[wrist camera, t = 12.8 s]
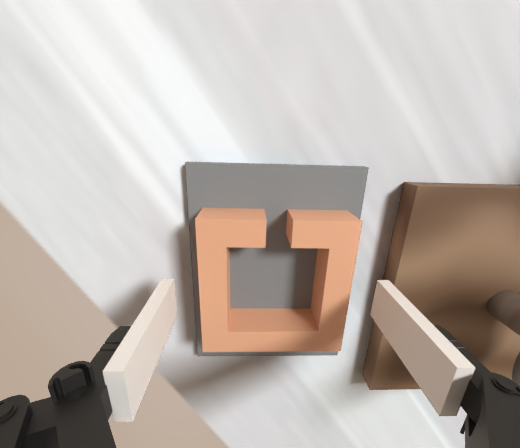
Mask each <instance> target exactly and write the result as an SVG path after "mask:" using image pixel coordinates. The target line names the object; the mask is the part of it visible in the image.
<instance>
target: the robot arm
mask: <svg viewBox="0 0 520 448" xmlns="http://www.w3.org/2000/svg"><path fill="white" fill-rule="evenodd" d="M370 315H371V317H372V318H373V320H374V321H375V323H376V324H377V326H378V327H379V329H380V330H381V332H382V333H383V334H384V336H385V337H386V339H387V340H388V342H389V343H390V345H391V346H392V348H393V349H394V350H395V352H396V353H397V355H398V356H399V358H400V359H401V361H402V362H403V364H404V365H405V366H406V368H407V369H408V371H409V372H410V374H411V375H412V377H413V378H414V380H415V381H416V382H417V384H418V385H419V387H420V388H421V390H422V391H423V393H424V394H425V396H426V397H427V399H428V400H429V401H430V403H431V404H432V406H433V407H434V409H435V410H436V412H437V413H438V415H439V416H457V413H458V411H459V408H460V406H461V407H462V408H463V409H464V410H465V412H466V413H467V417H466V419H465V421H464V424H463V426H462V428H461V431H460V433H462V434H464V432H465V448H520V386H519V385H518V384H516V383H515V382H514V381H512V380H511V379H509V378H507V377H505V376H503V375H500V374H497V373H493V372H490V371H489V370H488V369H487V368H486V367H485V366H484V365H483V364H482V363H481V362H480V361H479V360H478V359H477V358H476V357H475V356H474V355H472V354H471V353H470V352H469V351H468V350H467V349H466V348H464V346H463V345H462V344H461V343H460V342H458V341H457V339H456V338H455V337H454V336H453V335H452V334H451V333H450V332H448V331H447V330H445V329H444V328H442V327H441V326H439V325H433V324H432V323H431V322H430V321H429V320H428V319H427V318H426V317H425V316H424V315H423V314H422V313H421V312H420V311H419V310H418V309H417V308H416V307H415V306H414V305H413V304H412V303H411V302H410V301H409V300H408V299H407V298H406V297H405V296H404V295H403V294H402V293H401V292H400V291H399V290H398V289H397V288H396V287H395V286H394V285H393V284H392V283H391V282H390V281H389V280H377V284H376V289H375V294H374V299H373V304H372V308H371V313H370ZM176 317H177V304H176V293H175V282H174V279H161V281H160V282H159V284H158V286H157V287H156V289H155V290H154V292H153V293H152V295H151V296H150V298H149V300H148V301H147V303H146V304H145V306H144V307H143V309H142V311H141V312H140V314H139V315H138V317H137V318H136V320H135V321H134V323H133V325H132V326H120V327H119V328H118V329H117V330H115V331H114V332H113V333H112V334H111V335H110V336H109V337H108V339H107V340H106V342H105V344H103V346H102V347H101V348H100V351H99V352H98V353H97V354H96V356H95V357H94V358H93V360H92V361H91V362H90V363H89V362H86V361H78V362H74V363H71V364H68V365H67V366H65V367H63V368H61V369H60V370H59V371H58V372H56V373H55V374H54V375H53V376H52V378H51V380H50V381H49V384H48V389H49V392H50V395H51V397H49V398H46V399H42V400H39V401H35V402H32V403H30V401H29V399H28V398H27V397H26V396H23V395H17V396H12V397H9V398H7V399H4V400H2V401H0V448H116V445H115V442H114V439H113V435H112V432H111V429H110V426H109V423H108V419H109V417H110V415H111V413H112V415H113V419H114V422H133V421H134V418H135V416H136V413H137V411H138V408H139V406H140V404H141V401H142V399H143V397H144V394H145V392H146V389H147V387H148V384H149V382H150V380H151V377H152V375H153V373H154V370H155V368H156V365H157V363H158V361H159V358H160V356H161V353H162V351H163V349H164V346H165V344H166V341H167V339H168V337H169V334H170V332H171V329H172V327H173V325H174V322H175V320H176Z"/></svg>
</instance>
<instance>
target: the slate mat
mask: <svg viewBox="0 0 520 448" xmlns="http://www.w3.org/2000/svg"><path fill="white" fill-rule="evenodd" d="M185 169H186V184H187V200H188V215H189V230H190V245H191V260H192V275H193V291H194V306H195V321H196V336H197V351H198V356H288V355H337V353H338V351H284V352H203V348H202V331H201V313H200V296H199V279H198V261H197V244H196V227H195V218H196V217H197V215H198V214H199V212H200V211H201V210H202V208H247V209H265V214H266V219H267V224H266V248H240V247H230V308H252V309H311V300H312V292H313V283H314V274H315V265H316V257H317V248H291V246H290V243H289V241H288V238H287V235H286V224H287V209H301V210H347V211H349V212H350V213H352V214H353V215H354V216H356V217H357V218H358V219H360V216H361V210H362V204H363V198H364V192H365V186H366V180H367V174H368V167H361V166H324V165H287V164H250V163H212V162H185Z"/></svg>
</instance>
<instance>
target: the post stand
mask: <svg viewBox="0 0 520 448" xmlns="http://www.w3.org/2000/svg"><path fill="white" fill-rule="evenodd" d="M383 280H389V281H390V282H391V283H392V284H393V285H394V286H395V287H396V288H397V289H398V290H399V291H400V292H401V293H402V294H403V295H404V296H405V297H406V298H407V299H408V300H409V301H410V302H411V303H412V304H413V305H414V306H415V307H416V308H417V309H418V310H419V311H420V312H421V313H422V314H423V315H424V316H425V317H426V318H427V319H428V320H429V321H430V322H431V323H432V324H433V325H439V326H441V327H442V328H444V329H445V330H447V331H448V332H450V333H451V334H452V335H453V336H454V337H455V338H456V339H457V341H458V342H460V343H461V344H462V345H463V346H464V348H466V349H467V350H468V351H469V352H470V353H471V354H472V355H474V356H475V357H476V358H477V359H478V360H479V361H480V362H481V363H482V364H483V365H484V366H485V367H486V368H487V369H488V370H489V371H490V372H493V373H497V374H500V375H503V376H505V377H507V378H509V379H511V380H512V381H514V382H515V383H516V384H518V385H519V386H520V185H498V184H456V183H415V182H404V185H403V190H402V194H401V199H400V204H399V208H398V213H397V217H396V222H395V227H394V231H393V236H392V240H391V245H390V250H389V254H388V259H387V264H386V268H385V273H384V277H383ZM362 375H363V377H364V379H365V381H366V383H367V385H368V387H369V389H370V390H387V389H421V388H420V387H419V385H418V384H417V382H416V381H415V380H414V378H413V377H412V375H411V374H410V372H409V371H408V369H407V368H406V366H405V365H404V364H403V362H402V361H401V359H400V358H399V356H398V355H397V353H396V352H395V350H394V349H393V348H392V346H391V345H390V343H389V342H388V340H387V339H386V337H385V336H384V334H383V333H382V332H381V330H380V329H379V327H378V326H377V324H376V323H375V321H374V324H373V328H372V333H371V337H370V342H369V347H368V351H367V356H366V361H365V365H364V370H363V374H362Z"/></svg>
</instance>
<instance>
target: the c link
mask: <svg viewBox="0 0 520 448" xmlns="http://www.w3.org/2000/svg"><path fill="white" fill-rule="evenodd" d="M266 224H267V219H266V214H265V209H247V208H202V210H201V211H200V212H199V214H198V215H197V217H196V218H195V227H196V244H197V261H198V279H199V296H200V313H201V331H202V348H203V352H284V351H340V350H341V345H342V339H343V333H344V327H345V321H346V315H347V310H348V304H349V298H350V292H351V286H352V280H353V275H354V269H355V263H356V257H357V251H358V245H359V240H360V234H361V228H362V221H361V220H360V219H358V218H357V217H356V216H354V215H353V214H352V213H350V212H349V211H347V210H301V209H287V224H286V235H287V238H288V241H289V243H290V246H291V248H317V257H316V265H315V274H314V283H313V292H312V300H311V309H252V308H230V247H240V248H266Z"/></svg>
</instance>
